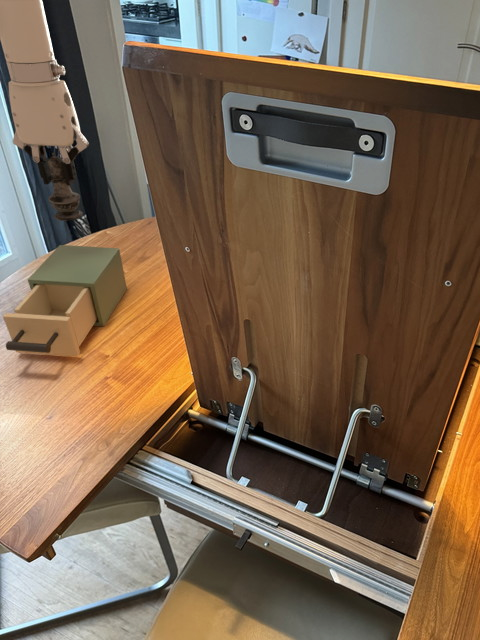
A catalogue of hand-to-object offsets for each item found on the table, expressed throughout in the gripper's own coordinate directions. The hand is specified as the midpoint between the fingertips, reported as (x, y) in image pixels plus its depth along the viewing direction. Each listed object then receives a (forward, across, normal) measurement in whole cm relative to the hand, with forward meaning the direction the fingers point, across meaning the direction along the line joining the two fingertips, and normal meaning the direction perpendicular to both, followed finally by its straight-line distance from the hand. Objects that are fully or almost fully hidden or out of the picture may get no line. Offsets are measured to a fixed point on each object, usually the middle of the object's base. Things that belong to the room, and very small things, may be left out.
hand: (60, 181), depth 98 cm
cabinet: (+23, -2, +7) cm, 24 cm away
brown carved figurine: (+7, 0, 0) cm, 7 cm away
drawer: (+22, -2, +21) cm, 30 cm away
